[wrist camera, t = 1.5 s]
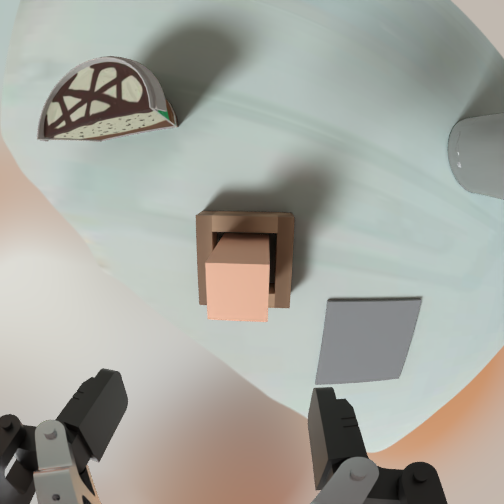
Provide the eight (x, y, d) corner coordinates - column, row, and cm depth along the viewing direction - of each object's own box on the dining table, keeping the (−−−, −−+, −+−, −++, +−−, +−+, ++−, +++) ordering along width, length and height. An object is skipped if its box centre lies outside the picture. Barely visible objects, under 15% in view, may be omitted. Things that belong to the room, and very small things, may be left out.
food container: (190, 70, 26) (158, 33, 16) (192, 125, 27) (157, 106, 18) (90, 94, 27) (36, 77, 17) (90, 144, 28) (33, 141, 19)
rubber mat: (420, 298, 31) (421, 300, 31) (397, 376, 35) (398, 378, 34) (327, 300, 32) (328, 301, 31) (315, 382, 35) (315, 384, 35)
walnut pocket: (291, 212, 29) (294, 217, 27) (287, 295, 32) (289, 307, 29) (202, 210, 30) (195, 215, 27) (205, 292, 32) (199, 304, 29)
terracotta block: (268, 233, 30) (269, 264, 21) (267, 275, 31) (267, 321, 22) (224, 232, 30) (205, 262, 21) (225, 274, 32) (207, 319, 22)
